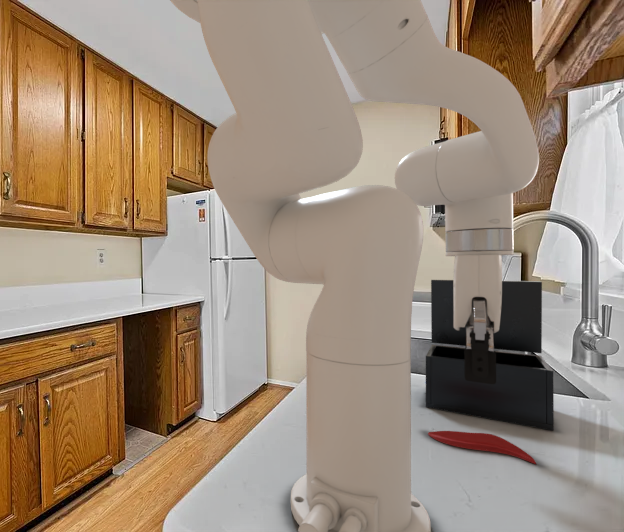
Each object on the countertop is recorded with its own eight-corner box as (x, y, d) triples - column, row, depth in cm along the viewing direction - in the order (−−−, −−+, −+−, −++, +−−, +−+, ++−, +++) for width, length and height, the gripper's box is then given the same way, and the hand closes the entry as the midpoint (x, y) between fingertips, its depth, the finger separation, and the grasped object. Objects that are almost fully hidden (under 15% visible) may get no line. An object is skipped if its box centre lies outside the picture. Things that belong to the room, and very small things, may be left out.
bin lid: (542, 281, 63) (537, 279, 68) (431, 280, 73) (433, 277, 77) (541, 353, 64) (536, 346, 68) (431, 342, 73) (433, 336, 78)
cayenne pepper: (539, 458, 47) (539, 442, 47) (532, 471, 44) (532, 455, 44) (435, 427, 56) (435, 414, 56) (423, 436, 52) (423, 423, 52)
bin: (553, 430, 54) (553, 370, 54) (425, 407, 64) (425, 356, 64) (541, 406, 64) (541, 355, 64) (431, 389, 73) (431, 344, 73)
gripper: (448, 248, 59) (449, 355, 59) (441, 243, 45) (442, 385, 45) (507, 246, 55) (509, 361, 55) (520, 240, 40) (522, 397, 41)
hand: (479, 372), depth 50 cm, fingers open, 9 cm apart
